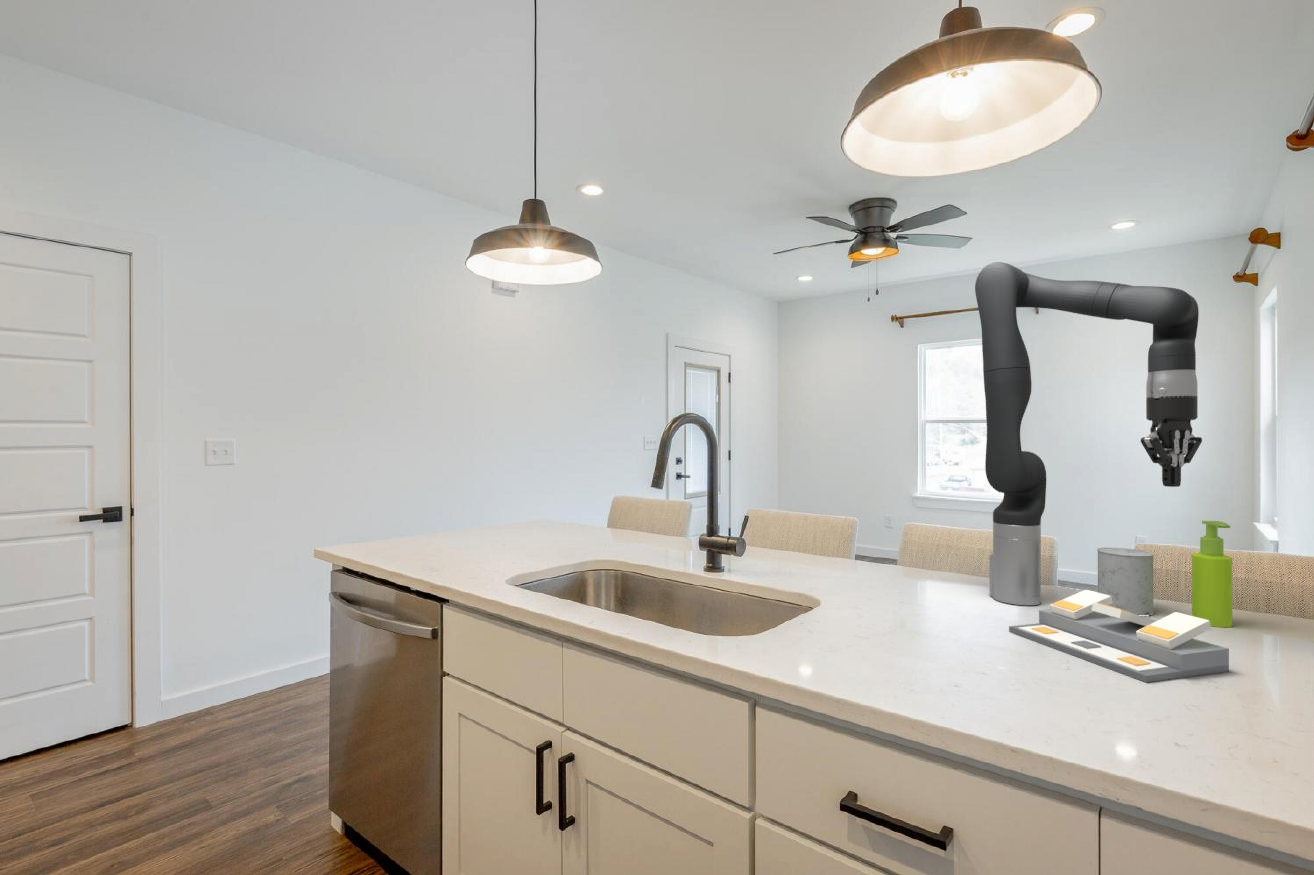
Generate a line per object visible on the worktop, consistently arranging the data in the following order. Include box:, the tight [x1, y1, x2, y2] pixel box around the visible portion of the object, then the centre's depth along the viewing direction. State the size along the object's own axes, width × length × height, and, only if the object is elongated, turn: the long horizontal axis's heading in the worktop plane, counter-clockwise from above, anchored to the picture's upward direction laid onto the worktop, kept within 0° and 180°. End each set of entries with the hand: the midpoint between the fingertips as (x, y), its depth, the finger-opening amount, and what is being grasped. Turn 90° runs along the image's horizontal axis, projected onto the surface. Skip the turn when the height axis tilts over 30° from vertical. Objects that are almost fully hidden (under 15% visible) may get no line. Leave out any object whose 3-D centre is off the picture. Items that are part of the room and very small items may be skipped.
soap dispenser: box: [1191, 520, 1233, 628], centre depth 121 cm, size 6×7×20 cm
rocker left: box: [1049, 589, 1113, 620], centre depth 115 cm, size 5×9×2 cm, turn 105°
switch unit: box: [1008, 608, 1230, 683], centre depth 106 cm, size 25×17×4 cm
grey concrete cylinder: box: [1096, 547, 1155, 616], centre depth 131 cm, size 10×10×12 cm
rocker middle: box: [1092, 602, 1157, 626], centre depth 107 cm, size 5×9×2 cm, turn 105°
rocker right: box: [1136, 611, 1212, 649], centre depth 99 cm, size 5×9×2 cm, turn 105°
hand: (1171, 486), depth 118 cm, fingers closed
